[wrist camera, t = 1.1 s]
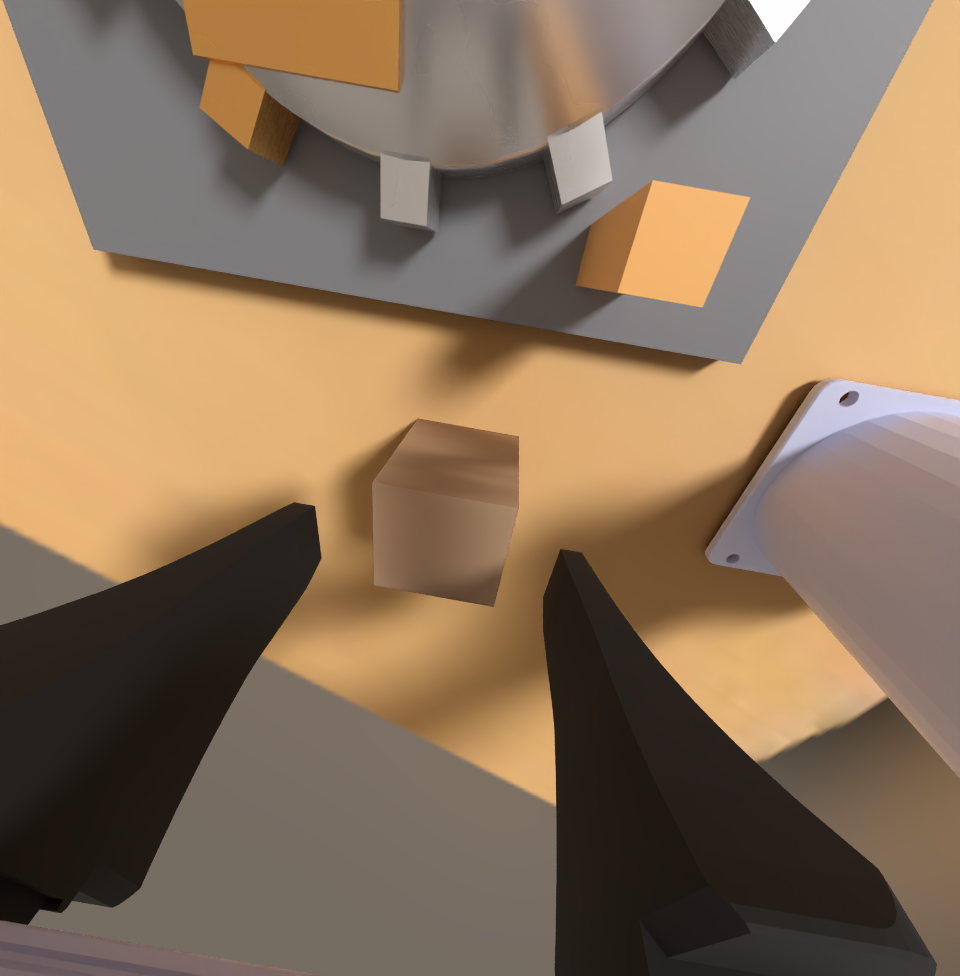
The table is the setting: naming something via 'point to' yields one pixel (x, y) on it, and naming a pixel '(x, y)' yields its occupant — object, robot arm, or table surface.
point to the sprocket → (457, 80)
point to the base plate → (480, 181)
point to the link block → (446, 512)
